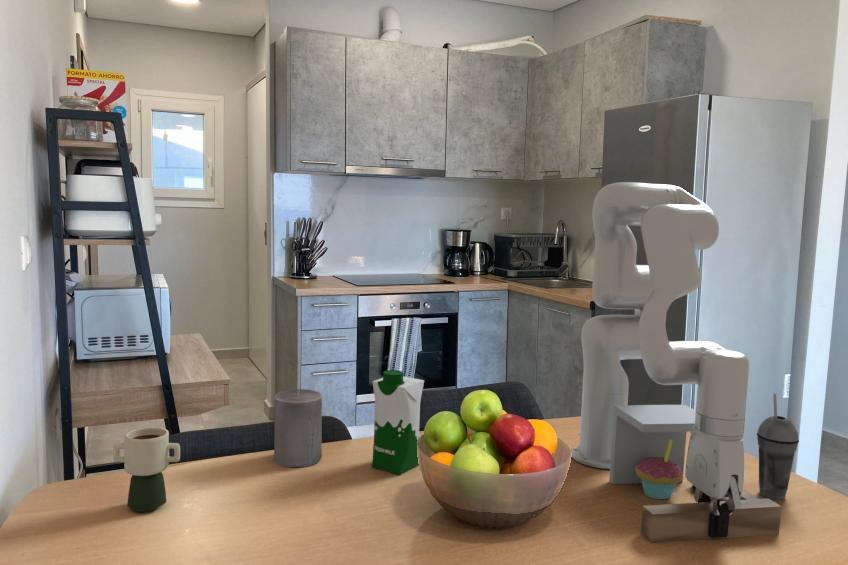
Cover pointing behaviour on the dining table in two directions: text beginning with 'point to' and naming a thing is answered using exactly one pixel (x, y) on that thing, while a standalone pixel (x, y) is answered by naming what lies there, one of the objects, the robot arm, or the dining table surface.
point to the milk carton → (396, 422)
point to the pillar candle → (298, 428)
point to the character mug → (146, 465)
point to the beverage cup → (776, 454)
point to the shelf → (647, 437)
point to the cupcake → (659, 475)
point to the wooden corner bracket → (694, 520)
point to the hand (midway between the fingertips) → (710, 530)
